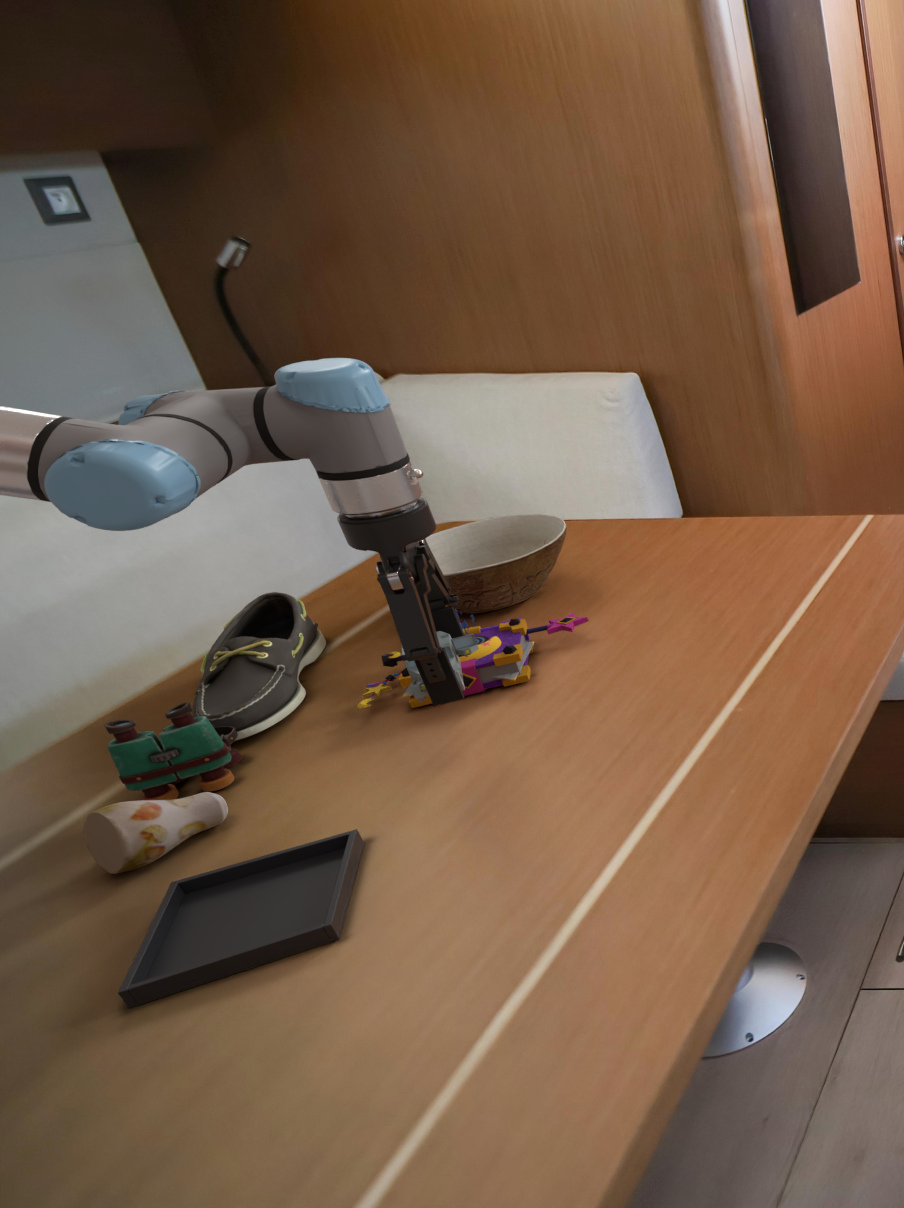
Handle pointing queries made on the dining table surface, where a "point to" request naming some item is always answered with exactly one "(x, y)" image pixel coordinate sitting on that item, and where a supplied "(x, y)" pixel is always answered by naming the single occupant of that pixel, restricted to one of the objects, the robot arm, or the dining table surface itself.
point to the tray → (245, 917)
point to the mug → (148, 828)
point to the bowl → (497, 559)
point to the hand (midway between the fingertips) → (453, 677)
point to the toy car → (452, 649)
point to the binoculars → (173, 754)
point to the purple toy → (484, 657)
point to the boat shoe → (258, 665)
